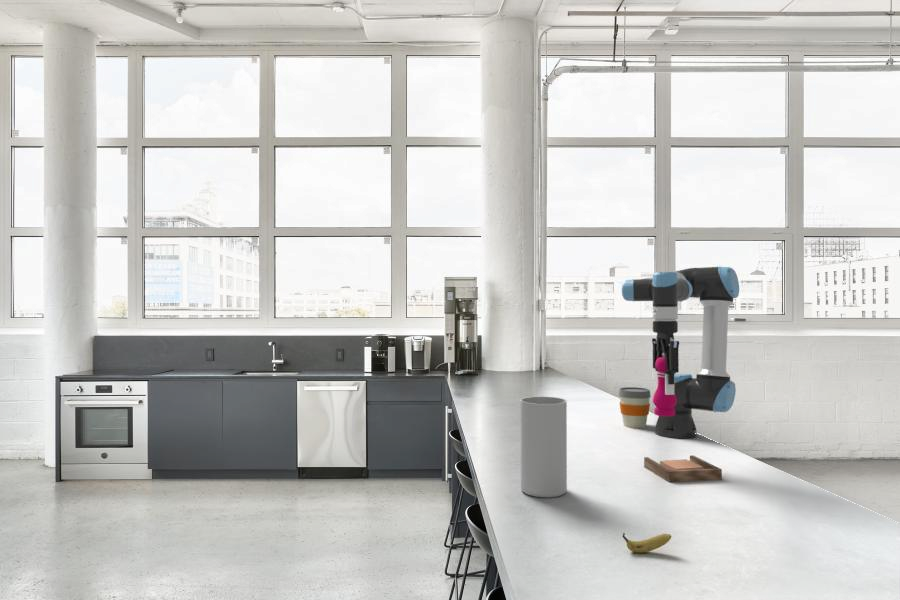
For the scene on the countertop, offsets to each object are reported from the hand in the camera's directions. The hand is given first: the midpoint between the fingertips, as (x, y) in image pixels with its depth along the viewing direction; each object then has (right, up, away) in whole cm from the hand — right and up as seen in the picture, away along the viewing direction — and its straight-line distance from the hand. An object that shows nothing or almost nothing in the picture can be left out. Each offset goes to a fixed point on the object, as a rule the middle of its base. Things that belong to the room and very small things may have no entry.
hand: (665, 392), depth 194 cm
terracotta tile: (+2, -23, -9) cm, 25 cm away
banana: (-28, -23, -67) cm, 76 cm away
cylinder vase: (-43, -23, -27) cm, 56 cm away
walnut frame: (+1, -23, -10) cm, 25 cm away
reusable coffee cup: (+8, -22, +58) cm, 62 cm away
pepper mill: (0, -7, 0) cm, 7 cm away
